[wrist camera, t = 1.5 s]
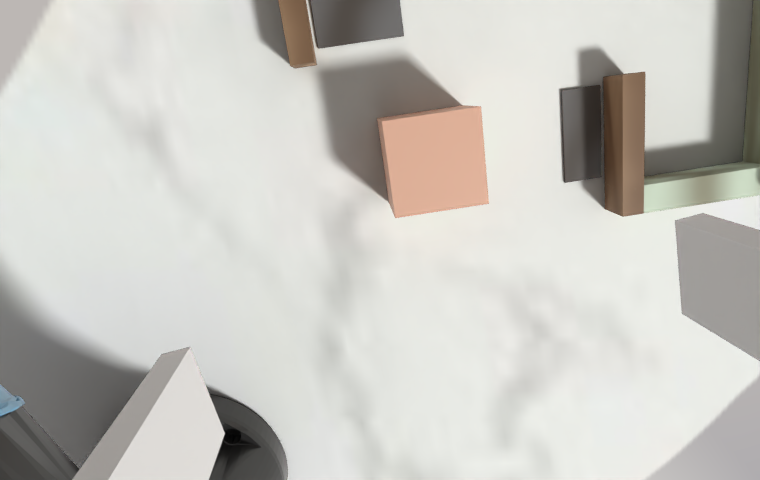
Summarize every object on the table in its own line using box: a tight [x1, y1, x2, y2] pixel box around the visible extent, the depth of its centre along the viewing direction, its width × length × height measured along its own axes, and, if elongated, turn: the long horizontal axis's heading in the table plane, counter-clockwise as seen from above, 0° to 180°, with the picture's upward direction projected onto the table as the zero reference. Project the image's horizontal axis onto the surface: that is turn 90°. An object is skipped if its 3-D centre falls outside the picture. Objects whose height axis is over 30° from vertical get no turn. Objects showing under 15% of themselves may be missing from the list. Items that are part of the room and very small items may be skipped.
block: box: [377, 106, 489, 218], centre depth 32 cm, size 6×6×5 cm
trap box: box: [278, 0, 760, 216], centre depth 31 cm, size 33×23×4 cm
